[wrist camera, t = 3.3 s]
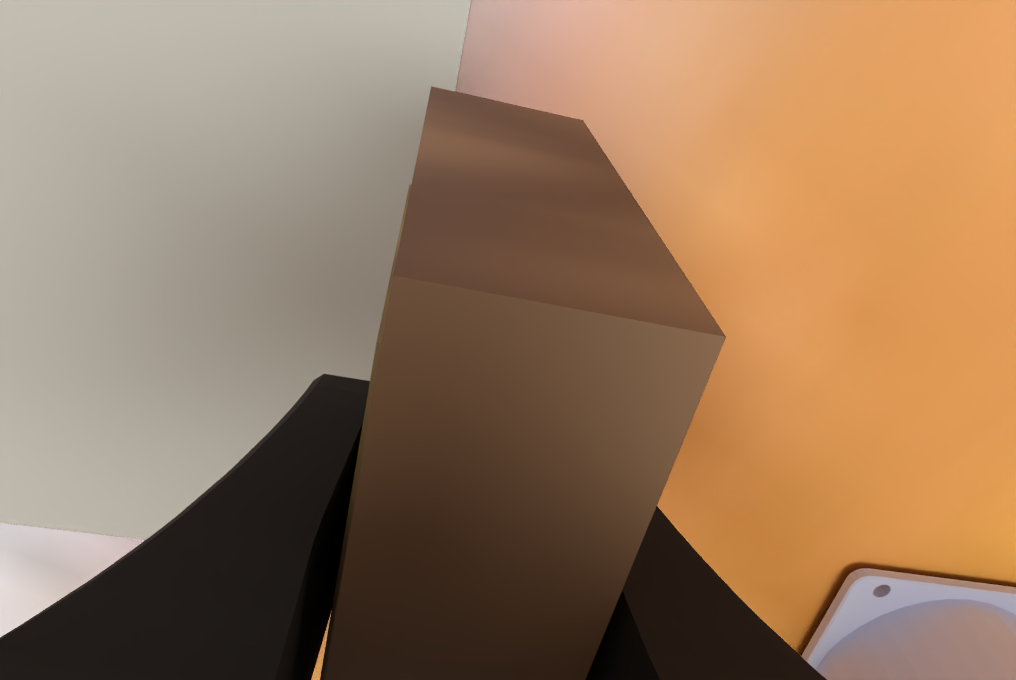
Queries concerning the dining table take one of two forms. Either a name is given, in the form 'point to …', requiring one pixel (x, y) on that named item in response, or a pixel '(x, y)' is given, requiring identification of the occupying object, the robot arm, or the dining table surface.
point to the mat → (192, 231)
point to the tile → (512, 407)
